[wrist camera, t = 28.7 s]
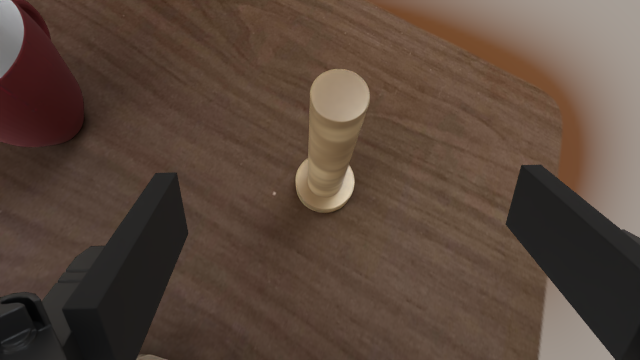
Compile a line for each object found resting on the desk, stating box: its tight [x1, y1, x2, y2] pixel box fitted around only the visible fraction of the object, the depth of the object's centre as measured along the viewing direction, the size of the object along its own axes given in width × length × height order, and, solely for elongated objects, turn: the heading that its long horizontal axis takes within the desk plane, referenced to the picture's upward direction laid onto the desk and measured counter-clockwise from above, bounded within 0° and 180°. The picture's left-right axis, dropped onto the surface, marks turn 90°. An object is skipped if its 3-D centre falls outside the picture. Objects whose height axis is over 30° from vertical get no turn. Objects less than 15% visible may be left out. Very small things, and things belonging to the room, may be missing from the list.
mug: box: [0, 0, 84, 147], centre depth 27 cm, size 11×8×10 cm
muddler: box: [295, 69, 370, 213], centre depth 24 cm, size 4×4×14 cm
